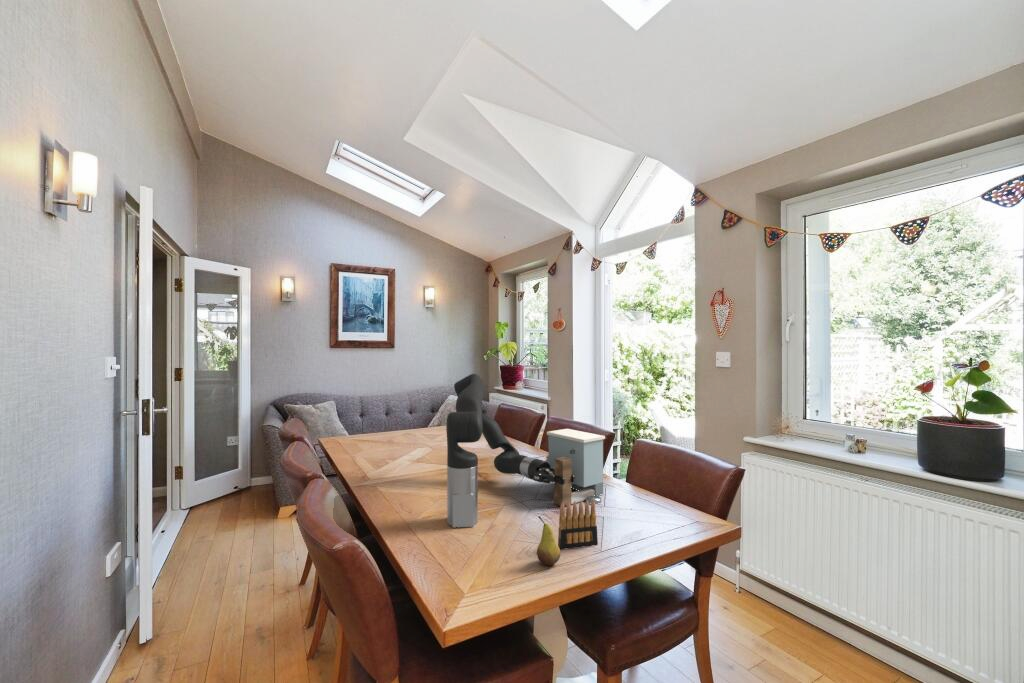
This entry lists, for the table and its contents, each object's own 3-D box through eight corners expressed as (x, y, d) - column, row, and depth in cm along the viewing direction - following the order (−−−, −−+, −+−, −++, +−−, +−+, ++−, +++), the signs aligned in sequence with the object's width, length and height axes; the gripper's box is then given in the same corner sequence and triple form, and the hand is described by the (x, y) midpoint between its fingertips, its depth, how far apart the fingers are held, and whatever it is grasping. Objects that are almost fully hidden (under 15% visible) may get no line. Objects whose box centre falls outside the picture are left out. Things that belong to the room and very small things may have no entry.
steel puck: (603, 504, 155) (603, 500, 155) (589, 505, 154) (589, 500, 154) (598, 499, 160) (598, 495, 160) (584, 500, 159) (584, 496, 159)
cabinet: (545, 488, 173) (545, 432, 173) (567, 482, 180) (567, 428, 180) (582, 501, 158) (582, 440, 158) (605, 494, 165) (605, 436, 165)
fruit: (558, 570, 109) (558, 520, 109) (534, 567, 111) (534, 517, 111) (562, 560, 115) (562, 511, 115) (539, 557, 116) (539, 509, 116)
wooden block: (554, 503, 155) (554, 458, 155) (585, 494, 164) (586, 452, 164) (562, 506, 152) (563, 461, 152) (594, 497, 161) (594, 454, 161)
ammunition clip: (595, 542, 125) (594, 497, 125) (597, 545, 123) (597, 500, 124) (557, 546, 123) (557, 501, 123) (560, 549, 121) (560, 503, 121)
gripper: (519, 461, 161) (553, 472, 148) (549, 455, 170) (584, 465, 157) (519, 483, 161) (553, 496, 148) (549, 476, 170) (583, 487, 157)
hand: (568, 480), depth 152 cm, fingers closed on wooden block, 4 cm apart
